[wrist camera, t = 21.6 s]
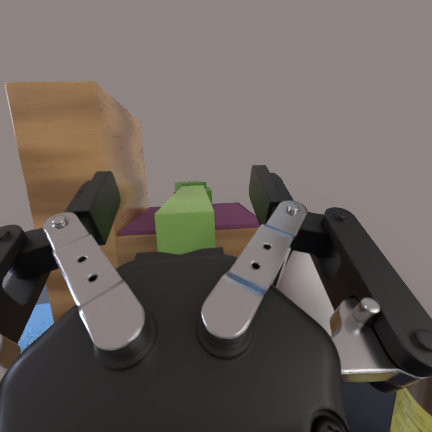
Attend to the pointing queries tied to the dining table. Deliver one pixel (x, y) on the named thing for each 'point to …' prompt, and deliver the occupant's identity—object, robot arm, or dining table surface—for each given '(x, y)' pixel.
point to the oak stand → (86, 165)
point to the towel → (223, 216)
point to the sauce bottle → (413, 408)
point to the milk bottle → (306, 288)
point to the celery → (186, 220)
